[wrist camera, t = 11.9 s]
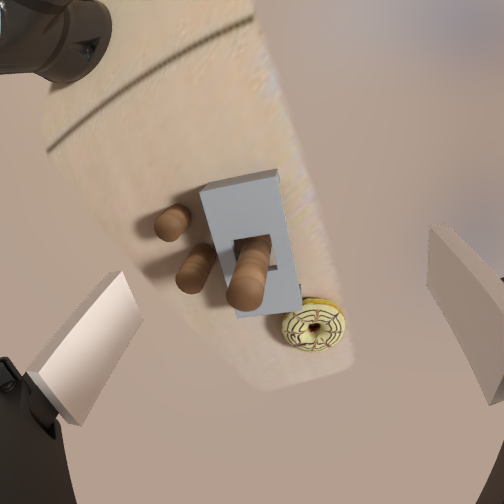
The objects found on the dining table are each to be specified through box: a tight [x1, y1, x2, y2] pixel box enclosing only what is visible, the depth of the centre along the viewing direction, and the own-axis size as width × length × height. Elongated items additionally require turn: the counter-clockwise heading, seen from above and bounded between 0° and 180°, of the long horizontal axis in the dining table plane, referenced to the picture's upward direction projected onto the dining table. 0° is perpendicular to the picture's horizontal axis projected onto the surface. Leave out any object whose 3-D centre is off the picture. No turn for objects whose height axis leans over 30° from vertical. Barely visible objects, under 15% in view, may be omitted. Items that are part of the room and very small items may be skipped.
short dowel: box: [154, 204, 191, 242], centre depth 45 cm, size 4×4×5 cm
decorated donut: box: [281, 298, 345, 352], centre depth 51 cm, size 10×11×4 cm
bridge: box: [199, 169, 302, 318], centre depth 45 cm, size 20×10×5 cm, turn 13°
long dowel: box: [226, 234, 272, 312], centre depth 41 cm, size 4×4×15 cm
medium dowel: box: [176, 244, 216, 294], centre depth 46 cm, size 4×4×8 cm
